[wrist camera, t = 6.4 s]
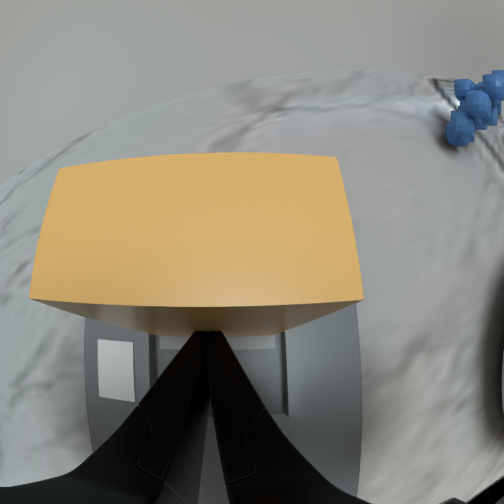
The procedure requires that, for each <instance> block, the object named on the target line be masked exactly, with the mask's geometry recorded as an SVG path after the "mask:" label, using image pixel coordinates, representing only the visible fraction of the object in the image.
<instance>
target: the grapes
mask: <svg viewBox="0 0 504 504" xmlns="http://www.w3.org/2000/svg"><path fill="white" fill-rule="evenodd" d="M454 91H455V96H456V98H457V99H458V100H459V101H460V106H458V110H456V111H451V120H450V122H447V127H446V138H447V140H448V142H449V144H451V145H454V146H467V145H468V142H474V132H475V129H476V130H485V129H487V125H488V126H493V125H497V119H498V114H501V101H502V100H504V70H495V71H492V74H486V75H483V82H479V84H474V82H472V81H471V80H469V79H458V80H454Z"/></svg>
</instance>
